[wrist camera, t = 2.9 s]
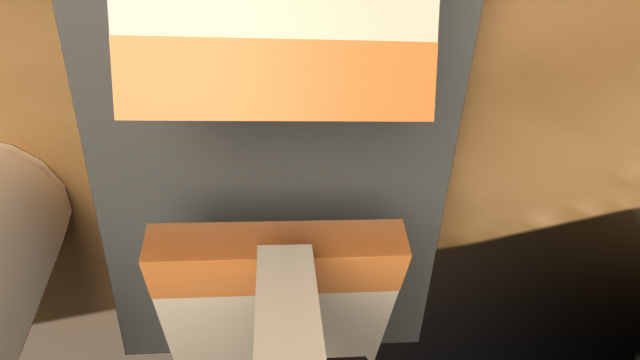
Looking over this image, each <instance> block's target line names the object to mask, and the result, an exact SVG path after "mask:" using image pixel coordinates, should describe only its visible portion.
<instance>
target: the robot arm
mask: <svg viewBox="0 0 640 360" xmlns="http://www.w3.org/2000/svg"><path fill="white" fill-rule="evenodd" d="M253 360H368V359H367V358H366V356H361V357H337V358H326V351H325V343H324V335H323V328H322V320H321V312H320V304H319V296H318V289H317V281H316V273H315V265H314V257H313V249H312V244H298V245H257V269H256V294H255V319H254V345H253Z"/></svg>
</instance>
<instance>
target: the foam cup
mask: <svg viewBox="0 0 640 360" xmlns="http://www.w3.org/2000/svg"><path fill="white" fill-rule="evenodd" d="M71 213H72V209H71V205H70V202H69V199H68V195H67V192H66V189H65V186H64V184H63V183H62V182H61V181H60V180H59V179H58V177H57V176H56V175H55V174H54V173H53V172H52V171H51V170H50V169H49V167H48V166H47V165H46V164H45V163H44V162H43V161H42V160H40V159H38V158H36V157H34V156H32V155H30V154H28V153H26V152H24V151H22V150H20V149H19V148H17V147H15V146H13V145H10V144H3V143H0V360H19V357H20V355H21V352H22V349H23V347H24V344H25V341H26V339H27V336H28V333H29V331H30V328H31V325H32V323H33V320H34V318H35V315H36V312H37V310H38V307H39V304H40V302H41V299H42V296H43V294H44V291H45V288H46V286H47V283H48V280H49V278H50V275H51V272H52V270H53V267H54V265H55V262H56V259H57V257H58V254H59V251H60V249H61V246H62V243H63V240H64V237H65V234H66V231H67V228H68V224H69V220H70V217H71Z"/></svg>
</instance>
